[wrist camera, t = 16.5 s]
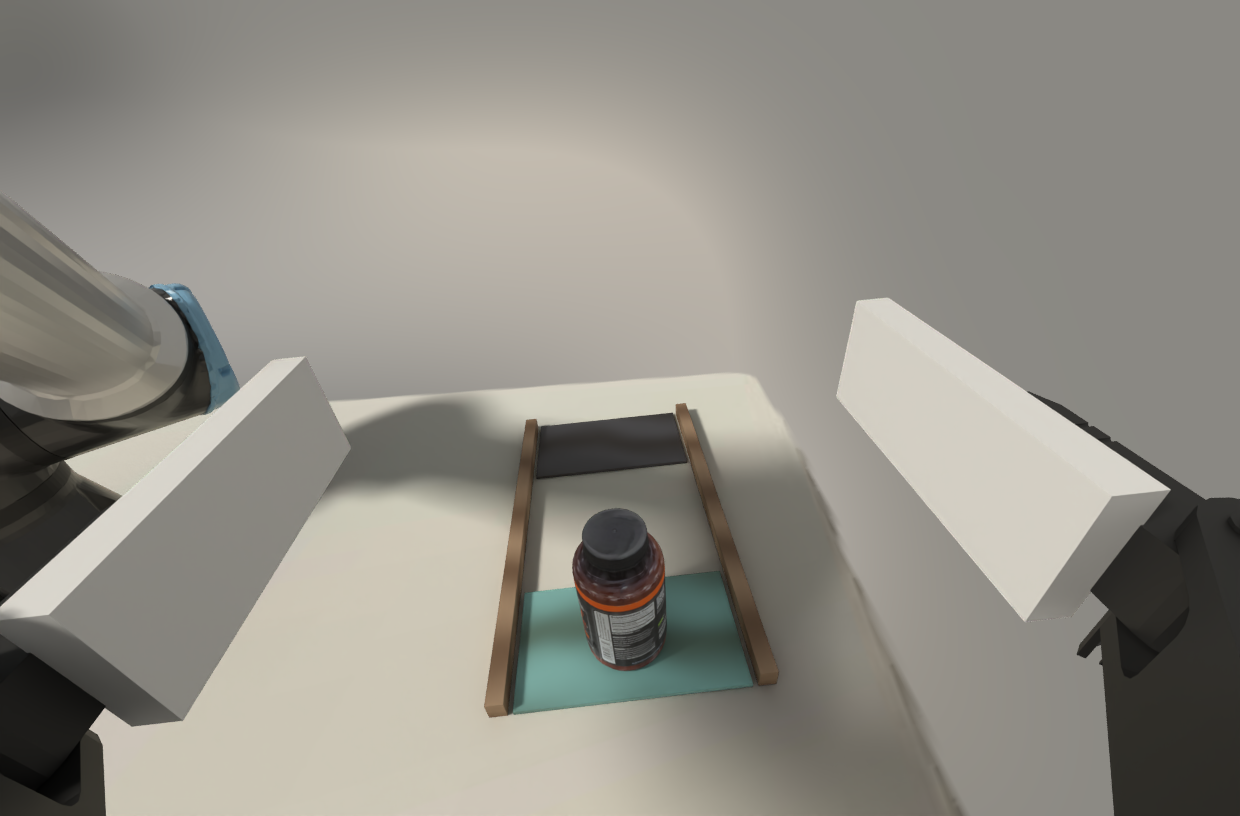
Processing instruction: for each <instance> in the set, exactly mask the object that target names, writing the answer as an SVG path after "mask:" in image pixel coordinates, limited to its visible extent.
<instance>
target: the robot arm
mask: <svg viewBox="0 0 1240 816" xmlns="http://www.w3.org/2000/svg"><path fill="white" fill-rule="evenodd" d="M836 397H837V398H838V400H839V401H840V402H841V403H842V404H843V406H844V407H845V408H846V409H847V410H848V411H849V413H850V414H851V415H852V416H853V417H854V419H855V420H856V421H857V422H858V423H859V424H860V426H861V427H862V428H863V429H864V431H865V432H866V433H867V434H868V435H869V437H870V438H871V439H872V440H873V441H874V443H875V444H876V445H877V446H878V447H879V448H880V450H881V451H882V452H883V453H884V454H885V456H886V457H887V458H888V459H889V460H890V462H891V463H892V464H893V465H894V466H895V468H896V469H897V470H898V471H899V472H900V474H901V475H902V476H903V477H904V478H905V479H906V481H907V482H908V483H909V484H910V485H911V487H912V488H913V489H914V490H915V492H916V493H917V494H918V495H919V496H920V497H921V499H922V500H923V501H924V502H925V503H926V505H927V506H928V507H929V508H930V509H931V510H932V512H933V513H934V514H935V515H936V516H937V518H938V519H939V520H940V521H941V523H942V524H943V525H944V526H945V527H946V528H947V530H948V531H949V532H950V533H951V534H952V536H953V537H954V538H955V539H956V540H957V542H958V543H959V544H960V545H961V546H962V548H963V549H964V550H965V551H966V552H967V553H968V555H969V556H970V557H971V558H972V560H973V561H974V562H975V563H976V564H977V565H978V567H979V568H980V569H981V570H982V572H983V573H984V574H985V575H986V576H987V577H988V579H989V580H990V581H991V582H992V583H993V585H994V586H995V587H996V588H997V589H998V591H999V592H1000V593H1001V594H1002V595H1003V597H1004V598H1005V599H1006V600H1007V601H1008V603H1009V604H1010V605H1011V606H1012V607H1013V608H1014V609H1015V611H1016V612H1017V613H1018V614H1019V616H1020V617H1021V618H1022V619H1023V620H1024V622H1029V621H1038V620H1047V619H1056V618H1064V617H1072V616H1073V615H1074V613H1075V612H1076V611H1077V610H1078V608H1079V607H1080V605H1081V604H1082V603H1083V602H1084V601H1085V599H1086V598H1087V597H1088V595H1089V594H1090V593H1091V592H1092V593H1093V594H1094V595H1095V596H1096V597H1097V598H1098V599H1099V600H1100V601H1101V602H1102V603H1103V604H1104V605H1105V606H1106V607H1107V608H1108V609H1109V610H1108V611H1107V613H1106V614H1105V615H1104V616H1103V618H1102V619H1101V620H1100V621H1099V622H1098V623H1097V625H1096V626H1095V627H1094V628H1093V629H1092V630H1091V632H1090V633H1089V634H1088V635H1087V637H1086V638H1085V639H1084V640H1083V641H1082V642H1081V644H1080V645H1079V649H1078V652H1077V655H1079V656H1081V657H1084V658H1086V657H1087V656H1088V655H1089V654H1090V653H1091V652H1092V651H1093V649H1094V648H1095V647H1096V646H1099V645H1101V650H1102V660H1101V661H1100V662H1099V664H1100V665H1103V676H1104V689H1105V702H1106V714H1107V726H1108V727H1107V728H1108V741H1109V753H1110V767H1111V779H1112V792H1113V805H1114V816H1240V499H1235V498H1209V499H1207V500H1205V499H1204V498H1202V497H1200V496H1199V495H1197V494H1196V493H1194V492H1193V491H1191V490H1190V489H1188V488H1187V487H1185V486H1183V485H1182V484H1180V483H1179V482H1178V481H1176V480H1174V479H1173V478H1172V477H1170V476H1169V475H1167V474H1165V473H1164V472H1162V471H1161V470H1159V469H1158V468H1156V467H1155V466H1153V465H1151V464H1150V463H1149V462H1147V461H1146V460H1144V459H1143V458H1141V457H1139V456H1138V455H1137V454H1135V453H1134V452H1132V451H1131V450H1129V449H1128V448H1126V447H1124V446H1123V445H1121V444H1120V443H1118V442H1117V441H1114V442H1112V441H1111V440H1110V437H1109V436H1108V435H1106V434H1105V433H1103V432H1102V431H1100V430H1099V429H1097V428H1096V427H1094V426H1091V427H1089V426H1088V422H1086V421H1085V420H1083V419H1082V418H1080V417H1079V416H1077V415H1076V414H1074V413H1073V412H1071V411H1070V410H1068V409H1067V408H1065V407H1063V406H1062V405H1060V404H1058V403H1055V402H1053V401H1050V400H1048V399H1045V398H1043V397H1041V396H1038V395H1036V394H1033V393H1031V392H1026V391H1025V390H1023V389H1022V388H1020V387H1019V386H1017V385H1016V384H1014V383H1013V382H1011V381H1010V380H1009V379H1007V378H1006V377H1004V376H1003V375H1001V374H1000V373H998V372H997V371H995V370H994V369H992V368H991V367H989V366H988V365H987V364H985V363H983V362H982V361H981V360H979V359H978V358H976V357H975V356H973V355H972V354H970V353H969V352H967V351H966V350H964V349H963V348H961V347H960V346H959V345H957V344H955V343H954V342H953V341H951V340H950V339H948V338H947V337H945V336H944V335H942V334H941V333H939V332H938V331H936V330H935V329H933V328H932V327H931V326H929V325H928V324H926V323H925V322H923V321H921V320H920V319H919V318H917V317H916V316H914V315H913V314H911V313H910V312H908V311H907V310H905V309H904V308H903V307H901V306H899V305H898V304H896V303H895V302H894V301H892V300H891V299H889V298H880V299H871V300H860V301H857V302H856V307H855V312H854V316H853V321H852V326H851V330H850V335H849V340H848V345H847V350H846V354H845V358H844V363H843V368H842V373H841V377H840V382H839V387H838V391H837V396H836ZM219 407H220V408H219ZM217 408H219V409H218V410H217V411H216V412H214V413H213V414H212V415H211V416H210V417H209V418H208V419H207V420H206V421H205V422H203V423H202V424H201V425H200V426H199V427H198V428H197V429H196V430H195V431H194V432H192V433H191V434H190V435H189V436H188V437H187V438H186V439H185V440H184V441H182V442H181V443H180V444H179V445H178V446H177V447H176V448H175V449H174V450H173V451H171V452H170V453H169V454H168V455H167V456H166V457H165V458H164V459H163V460H162V461H160V462H159V463H158V464H157V465H156V466H155V467H154V468H153V469H152V470H150V471H149V472H148V473H147V474H146V475H145V476H144V477H143V478H142V479H141V480H139V481H138V482H137V483H136V484H135V485H134V486H133V487H132V488H131V489H130V490H128V491H127V492H126V493H125V494H124V495H123V496H121V495H119V494H117V493H115V492H113V491H111V490H109V489H107V488H105V487H103V486H101V485H99V484H97V483H95V482H93V481H91V480H89V479H87V478H85V477H83V476H81V475H79V474H77V473H76V472H75V471H73V470H72V469H71V468H70V467H69V466H68V465H67V464H66V462H65V461H64V460H67V459H70V458H73V457H75V456H78V455H81V454H84V453H87V452H90V451H93V450H96V449H99V448H102V447H105V446H108V445H111V444H114V443H117V442H120V441H123V440H126V439H129V438H132V437H135V436H138V435H141V434H144V433H147V432H150V431H153V430H156V429H159V428H162V427H165V426H168V425H171V424H174V423H177V422H180V421H183V420H186V419H189V418H192V417H195V416H198V415H206V414H209V413H211V412H212V411H213V410H214V409H217ZM350 449H351V446H350V444H349V442H348V440H347V438H346V436H345V434H344V432H343V430H342V428H341V426H340V424H339V422H338V420H337V418H336V416H335V414H334V412H333V410H332V408H331V406H330V404H329V402H328V400H327V398H326V396H325V394H324V392H323V390H322V388H321V386H320V384H319V382H318V380H317V378H316V376H315V374H314V372H313V370H312V368H311V366H310V364H309V362H308V360H307V358H306V356H305V357H295V358H286V359H275V360H272V361H271V362H270V363H269V364H268V365H266V366H265V367H264V368H263V369H262V370H261V371H260V372H259V373H258V374H257V375H256V376H254V377H253V378H252V379H251V380H250V381H249V382H248V383H247V384H245V385H244V386H243V387H242V388H241V389H240V387H239V384H238V381H237V378H236V376H235V374H234V372H233V370H232V368H231V366H230V364H229V362H228V360H227V357H226V355H225V353H224V350H223V348H222V346H221V344H220V342H219V340H218V338H217V336H216V334H215V332H214V330H213V329H212V327H211V325H210V323H209V321H208V319H207V317H206V315H205V313H204V312H203V310H202V308H201V306H200V304H199V303H198V301H197V299H196V298H195V297H194V295H193V294H192V292H191V291H190V289H189V288H188V287H186V286H184V285H181V284H168V285H163V284H156V285H151V286H150V288H147V287H145V286H143V285H142V284H139V283H137V282H135V281H133V280H130V279H128V278H125V277H122V276H119V275H114V274H111V273H106V272H101V271H97V270H96V269H95V268H93V267H92V266H91V265H90V264H89V263H88V262H86V261H85V260H84V259H83V258H82V257H81V256H79V255H78V254H77V253H76V252H75V251H73V250H72V249H71V248H70V247H69V246H67V245H66V244H65V243H64V242H63V241H61V240H60V239H59V238H58V237H57V236H55V235H54V234H53V233H52V232H51V231H49V230H48V229H47V228H46V227H45V226H43V225H42V224H41V223H40V222H39V221H37V220H36V219H35V218H34V217H33V216H31V215H30V214H29V213H28V212H27V211H25V210H24V209H23V208H22V207H21V206H20V205H18V204H17V203H16V202H15V201H13V200H12V199H11V198H10V197H9V196H7V195H6V194H5V193H4V192H3V191H2V190H0V816H106V808H105V786H104V765H103V745H102V743H101V741H100V739H99V736H98V735H97V734H95V733H94V732H92V731H91V730H89V728H90V727H91V725H92V724H93V723H94V721H95V720H96V719H97V717H98V716H99V715H100V713H101V712H102V711H103V709H104V708H106V709H107V710H109V711H110V712H112V713H113V714H115V715H116V716H117V717H119V718H120V719H122V720H123V721H125V722H126V723H127V724H129V725H130V726H141V725H149V724H158V723H166V722H175V721H183V720H184V718H185V716H186V715H187V713H188V712H189V710H190V708H191V707H192V705H193V703H194V702H195V700H196V699H197V697H198V695H199V694H200V692H201V690H202V689H203V687H204V686H205V684H206V682H207V681H208V679H209V678H210V676H211V674H212V673H213V671H214V669H215V668H216V666H217V665H218V663H219V661H220V660H221V658H222V656H223V655H224V653H225V652H226V650H227V648H228V647H229V645H230V644H231V642H232V640H233V639H234V637H235V635H236V634H237V632H238V631H239V629H240V627H241V626H242V624H243V623H244V621H245V619H246V618H247V616H248V614H249V613H250V611H251V610H252V608H253V606H254V605H255V603H256V601H257V600H258V598H259V597H260V595H261V593H262V592H263V590H264V589H265V587H266V585H267V584H268V582H269V580H270V579H271V577H272V576H273V574H274V572H275V571H276V569H277V567H278V566H279V564H280V563H281V561H282V559H283V558H284V556H285V555H286V553H287V551H288V550H289V548H290V546H291V545H292V543H293V542H294V540H295V538H296V537H297V535H298V534H299V532H300V530H301V529H302V527H303V525H304V524H305V522H306V521H307V519H308V517H309V516H310V514H311V512H312V511H313V509H314V508H315V506H316V504H317V503H318V501H319V500H320V498H321V496H322V495H323V493H324V491H325V490H326V488H327V487H328V485H329V483H330V482H331V480H332V479H333V477H334V475H335V474H336V472H337V470H338V469H339V467H340V466H341V464H342V462H343V461H344V459H345V457H346V456H347V454H348V453H349V451H350Z"/></svg>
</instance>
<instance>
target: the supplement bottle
mask: <svg viewBox="0 0 1240 816" xmlns="http://www.w3.org/2000/svg"><path fill="white" fill-rule="evenodd" d="M572 569H573V576H574V581H575V586H576V592H577V597H578V601H579V605H580V610H581V614H582V620H583V625H584V629H585V634H586V638H587V641H588V644H589V647H590V649H591V651H592V653H593V654H594V656H595V657H596V659H597V660H598V661H600V662H601V663H602V664H604V665H606V666H608V667H610V668H612V669H615V670H619V671H630V670H636V669H639V668H642V667H644V666H646V665H648V664H649V663H651V662H652V661H653V660H654V659H655V658H656V657H657V655H658V654H659V653H660V651H661V650H662V648H663V645H664V643H665V639H666V631H667V616H666V587H665V565H664V558H663V554H662V551H661V548H660V546H659V544H658V543H657V541H656V540H655V539H654V538H653V537H652V536H651V535H650V534H649V533H648V532H647V528H646V525H645V523H644V521H643V519H641V517H640V516H638V515H637V514H636V513H634V512H632V511H629V510H626V509H620V508H617V509H608V510H604V511H601V512H599V513H597V514H595V515H594V516H592V517H591V518H590V519H589V520H588V521H587V523H586V525H585V526H584V529H583V532H582V542H581V543H580V545H579V546H578V548H577V550H576V551H575V554H574V558H573V567H572Z"/></svg>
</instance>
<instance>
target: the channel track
mask: <svg viewBox="0 0 1240 816" xmlns="http://www.w3.org/2000/svg"><path fill="white" fill-rule="evenodd" d="M676 417H677V420H678V423H679V426H680V430H681V433H682V436H683V440H684V443H685V446H686V449H687V453H688V456H689V459H690V462H691V466H692V469H693V472H694V476H695V479H696V482H697V485H698V489H699V492H700V495H701V499H702V502H703V505H704V508H705V512H706V515H707V518H708V521H709V525H710V528H711V531H712V535H713V538H714V541H715V544H716V548H717V551H718V554H719V557H720V561H721V564H722V567H723V571H724V574H725V577H726V580H727V584H728V587H729V590H730V594H731V597H732V600H733V603H734V607H735V610H736V613H737V616H738V620H739V623H740V626H741V630H742V633H743V636H744V639H745V643H746V646H747V649H748V652H749V656H750V659H751V662H752V666H753V669H754V672H755V675H756V679H757V682H758V685H759V686H760V685H768V684H776V683H777V678H778V673H779V671H778V668H777V665H776V662H775V659H774V657H773V654H772V651H771V648H770V645H769V642H768V639H767V636H766V634H765V631H764V628H763V625H762V622H761V619H760V616H759V613H758V610H757V608H756V605H755V602H754V599H753V596H752V593H751V590H750V587H749V585H748V582H747V579H746V576H745V573H744V570H743V567H742V564H741V561H740V559H739V556H738V553H737V550H736V547H735V544H734V541H733V538H732V536H731V533H730V530H729V527H728V524H727V521H726V518H725V515H724V512H723V510H722V507H721V504H720V501H719V498H718V495H717V492H716V489H715V486H714V484H713V481H712V478H711V475H710V472H709V469H708V466H707V463H706V461H705V458H704V455H703V452H702V449H701V446H700V443H699V440H698V437H697V435H696V432H695V429H694V426H693V423H692V420H691V417H690V414H689V412H688V409H687V406H686V403H683V404H676ZM537 438H538V425H537V420H536V419H530V420H526V425H525V432H524V439H523V446H522V452H521V459H520V466H519V473H518V480H517V486H516V493H515V500H514V507H513V514H512V521H511V527H510V534H509V541H508V548H507V555H506V561H505V568H504V575H503V582H502V589H501V595H500V602H499V609H498V616H497V623H496V629H495V636H494V643H493V650H492V657H491V663H490V670H489V677H488V684H487V691H486V698H485V704H484V707H485V709H486V712H487V714H488V716H489V718H490V717H498V716H506V715H508V707H509V698H510V688H511V679H512V670H513V660H514V651H515V642H516V633H517V623H518V614H519V605H520V595H521V586H522V577H523V568H524V558H525V549H526V540H527V530H528V521H529V512H530V503H531V493H532V484H533V475H534V465H535V456H536V447H537ZM680 463H687V460H686V456H685V453H684V450H683V446H682V443H681V440H680V436H679V433H678V429H677V426H676V423H675V419H674V416H673V413H666V414H656V415H647V416H637V417H628V418H618V419H609V420H599V421H590V422H580V423H571V424H561V425H552V426H542V427H541V435H540V445H539V455H538V465H537V475H536V478H537V479H540V478H550V477H559V476H568V475H578V474H587V473H596V472H605V471H615V470H624V469H633V468H643V467H652V466H661V465H671V464H680ZM665 587H666V616H667V631H666V639H665V643H664V645H663V648H662V650H661V651H660V653H659V654H658V655H657V657H656V658H655V659H654V660H653V661H652V662H651V663H649V664H648V665H646V666H644V667H642V668H639V669H636V670H630V671H619V670H615V669H612V668H610V667H608V666H606V665H604V664H602V663H601V662H600V661H598V660H597V659H596V657H595V656H594V654H593V653H592V651H591V649H590V647H589V644H588V641H587V638H586V634H585V629H584V625H583V620H582V614H581V610H580V605H579V601H578V597H577V592H576V587H573V588H564V589H555V590H546V591H537V592H528V593H525V595H524V605H523V615H522V625H521V635H520V645H519V655H518V665H517V675H516V685H515V695H514V705H513V714H514V715H515V714H523V713H532V712H540V711H549V710H557V709H566V708H574V707H582V706H591V705H599V704H608V703H616V702H625V701H633V700H641V699H650V698H658V697H667V696H675V695H684V694H692V693H701V692H709V691H717V690H726V689H734V688H743V687H751V686H753V682H752V679H751V675H750V672H749V669H748V665H747V662H746V659H745V655H744V652H743V648H742V645H741V642H740V638H739V635H738V632H737V628H736V625H735V621H734V618H733V615H732V611H731V608H730V605H729V601H728V598H727V595H726V591H725V588H724V584H723V581H722V578H721V574H720V571H714V572H705V573H697V574H688V575H679V576H670V577H665Z"/></svg>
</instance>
